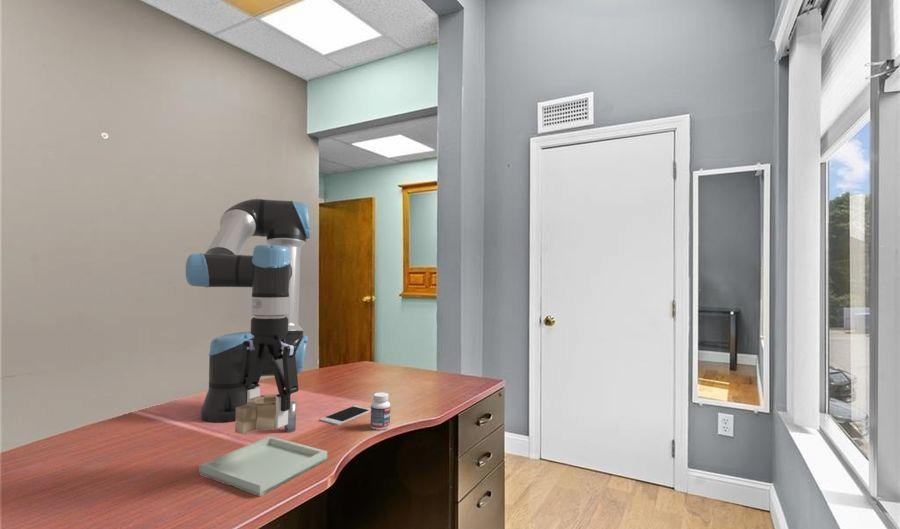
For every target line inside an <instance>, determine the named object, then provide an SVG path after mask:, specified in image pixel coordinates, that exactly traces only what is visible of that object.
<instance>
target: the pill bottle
mask: <svg viewBox="0 0 900 529" xmlns="http://www.w3.org/2000/svg"><path fill="white" fill-rule="evenodd" d="M370 408H371V412H370V428H371V429H372V430H375V429H376V431H382V430H383V429H384V430H387V429H389V428H390V426H391V425H390V424H391V403H390V401H389V393H387V392H383V391H382V392H381V391H380V392H375V393H374V394H373V401H372V403H371V404H370Z"/></svg>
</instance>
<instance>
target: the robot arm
mask: <svg viewBox="0 0 900 529" xmlns="http://www.w3.org/2000/svg"><path fill="white" fill-rule="evenodd" d="M309 216H310V215H309V210H308V206H307V204H306V203H304V202H303V201H300V202H299V201H294V200H279V199H278V200H276V199H275V200H274V199H262V198H252V199H247V200H244V201H241V202H238V203H236V204H234V205H233V206H231V207H229V208H227V209H226V210H225V212H224V213H223V214H222V215H221V217H220V221H219V228H218V231H217V233H216V234H215V236H214V237H213V240H212V241H211V243H210V245H209V247H208V248H207V249H206V252H205V253H202V252H200V253H193V254H190V255H189V256H188V257H187V259H186V262H185V280H186V282H187V284H188V285H190V286H192V287H202V288H203V287H204V288H251V312H250V313H251V315H252V316H254V317H252V318H251V319H250V331H241V332H235V333H234V332H233V333H227V334H224V335H220V336H216V337H215V338H213V339H212V340H211V341H210V347H209V353H208V356H209V363H208V364H209V365H208V368H209V369H208V389H207V392H206V394H205V399H204V401H203V404H202V406H201V410H200V419H202V420H204V421H207V422H213V423H215V422H216V423H224V422H235V420H236V407H239V406H242V405H246V404H247V402H248V399H250V398H254V397H257V396H261V387H260V386H261V384H260V383H259V382H260V379H261V377H273V376H274V380H275V383H276V387H277V392H278V395H277V396H276V418H275V427H276V428H275V429H279V428H281V427H285V425H287V424H288V410H289V409H290V402H291V395H292V394H294V393H298V392H299V390H300V387H299V380H298V379H299V378H298V374H301V372H302V371H303V369H304V363H305V356H306V352H307V346H308V339H309V337H308V335H306V334H304V329H303V328H302V327H301V326H300V325H299V312H300V310H299V307H300V279H301V277H300V276H301V252H302V251H301V249H302V248H303V247H305V245H307V240H309V239H311V236H312V235H311V226H310V225H311V224H310V218H309ZM251 237H260V238H261V237H262V238H264V237H266V243H267V244H260V245H259V244H257V245H255V247H254V248H253V251H252V255H246V254H245V255H244V254H243V251H244V250H245V246H246V244H247V241H248V240H249V239H250V238H251Z"/></svg>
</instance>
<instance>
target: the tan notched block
mask: <svg viewBox="0 0 900 529" xmlns="http://www.w3.org/2000/svg"><path fill="white" fill-rule="evenodd" d="M278 394H279V393H278ZM278 394H277V393H276V394H260V396H257V397H254V398H250V399H248V402H247V404H246V405H242V406H239V407H236V420H235V421H234V422H235V423H234V424H235V425H234V427H235V428H234V432H235V433H237V434H239V435H245V434H246V435H247V434H248V433H251V432H254V431H264V430H265V431H266V430H275V429H277V428H276V427H275V418H276V396H277V395H278Z"/></svg>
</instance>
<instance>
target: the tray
mask: <svg viewBox="0 0 900 529" xmlns="http://www.w3.org/2000/svg"><path fill="white" fill-rule="evenodd" d="M326 461H328V450H325V449H320V448H318V447H317V448H316V447H312V446H309V445H305V444H303V443H298V442H295V441H291V440H286V439H284V438H283V439H282V438H279V437H275V436H271V435H269V436H267V437H265V438H262V439H260V440H257V441H255V442H253V443H252V442H251V443H250V444H248V445H245V446H243V447H240V448H238V449H236V450H232V451H231V452H228V453H225V454H223V455H220V456H218V457H216V458H213V459H210V460H208V461H206V462H203V463H201V464H199V466H198V468H199V470H198V475H199V474H202V475H204V476H207V477H209V478H208V479H210V478H212V479H211V480H213V479H215V480H214V481H216V480H218V481H221V482H224V483H226V484H225V485H227V484H229V485H232V486H234V487H233V488H235V487H236V488H235V489H238V488H239V489H238V490H241V491H244V492H246V493H250V494H252V495H255V496H256V497H257V496H258V497H262V496H264V495H265V494H267V493H269V492H271V491H273V490H275V489H276V488H278V487H280V486H282V485H284V484H286V483H287V482H289V481H291V480H293V479H296V478H297V477H298V476H300V475H302V474H305V473H306V472H307V471H310V470H312V469H314V468H315V467H317V466H319V465H321V464H323V463H325V462H326ZM202 475H201V476H202ZM204 476H203V477H204ZM207 477H206V478H207ZM218 481H217V482H218ZM221 482H220V483H221ZM224 483H223V484H224ZM229 485H228V486H229ZM232 486H231V487H232Z"/></svg>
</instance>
